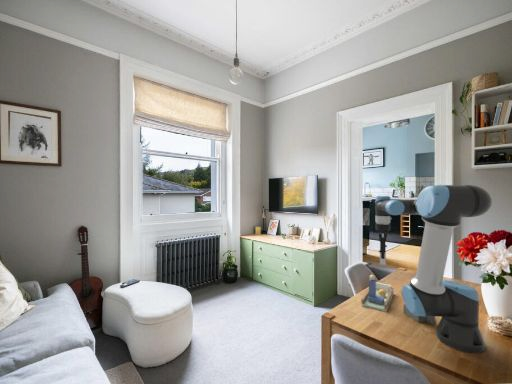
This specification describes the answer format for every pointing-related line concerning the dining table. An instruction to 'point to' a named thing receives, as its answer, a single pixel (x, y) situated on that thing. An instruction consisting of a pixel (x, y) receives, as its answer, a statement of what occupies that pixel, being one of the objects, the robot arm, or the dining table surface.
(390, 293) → the pitch
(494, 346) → the dining table surface
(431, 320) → the digital clock
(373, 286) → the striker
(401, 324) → the dining table surface
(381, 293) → the ball
